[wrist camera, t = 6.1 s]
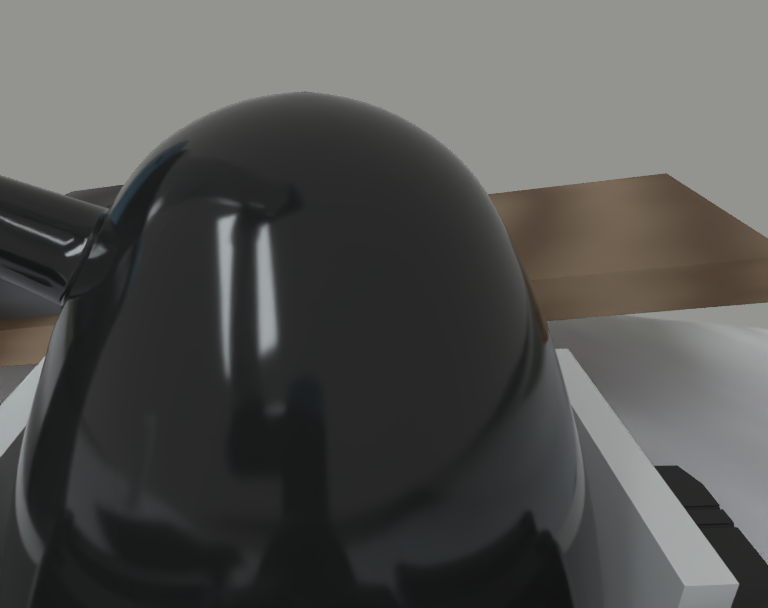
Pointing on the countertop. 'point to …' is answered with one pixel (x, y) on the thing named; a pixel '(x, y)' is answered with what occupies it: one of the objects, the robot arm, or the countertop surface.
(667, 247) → the balance beam
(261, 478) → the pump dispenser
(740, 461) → the countertop surface
